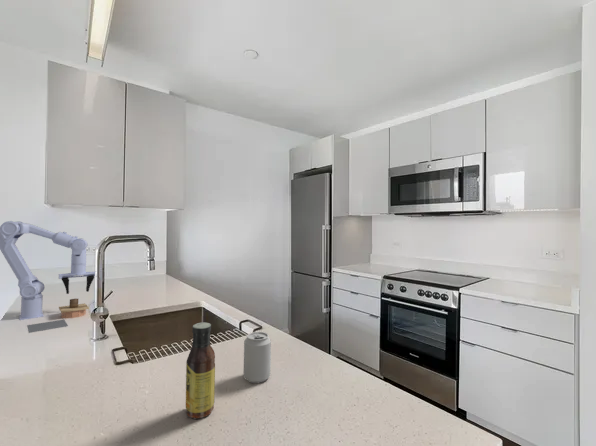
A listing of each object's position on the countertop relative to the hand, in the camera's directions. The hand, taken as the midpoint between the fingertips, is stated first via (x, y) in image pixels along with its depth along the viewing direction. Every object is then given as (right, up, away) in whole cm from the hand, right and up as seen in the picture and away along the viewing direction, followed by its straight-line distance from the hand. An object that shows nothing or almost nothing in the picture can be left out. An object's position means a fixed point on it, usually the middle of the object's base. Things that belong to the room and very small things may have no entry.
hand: (77, 292), depth 142 cm
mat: (+2, -10, -20) cm, 22 cm away
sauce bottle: (+83, -10, -75) cm, 112 cm away
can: (+94, -11, -59) cm, 111 cm away
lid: (+2, -6, -5) cm, 8 cm away
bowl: (+2, -10, -5) cm, 11 cm away
